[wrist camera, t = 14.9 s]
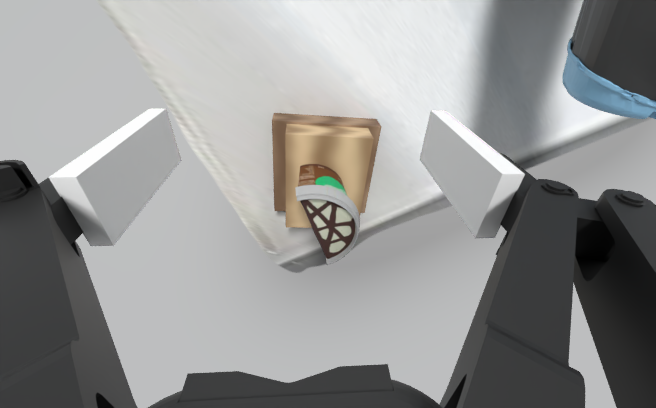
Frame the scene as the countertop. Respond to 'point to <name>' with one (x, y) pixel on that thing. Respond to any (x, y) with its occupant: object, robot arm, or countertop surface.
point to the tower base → (283, 119)
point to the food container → (328, 210)
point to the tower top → (326, 162)
